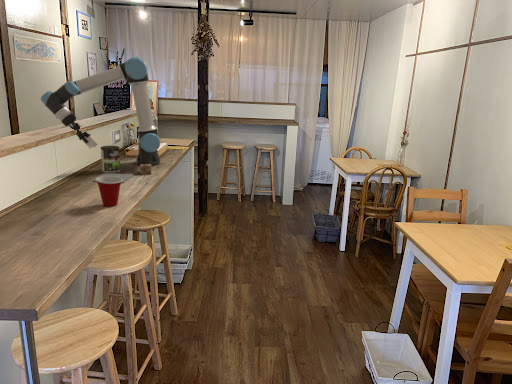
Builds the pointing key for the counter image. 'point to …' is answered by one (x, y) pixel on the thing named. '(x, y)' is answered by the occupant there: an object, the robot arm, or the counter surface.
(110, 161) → the coffee can
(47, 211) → the counter surface
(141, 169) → the walnut block
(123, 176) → the mat
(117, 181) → the plastic cup
